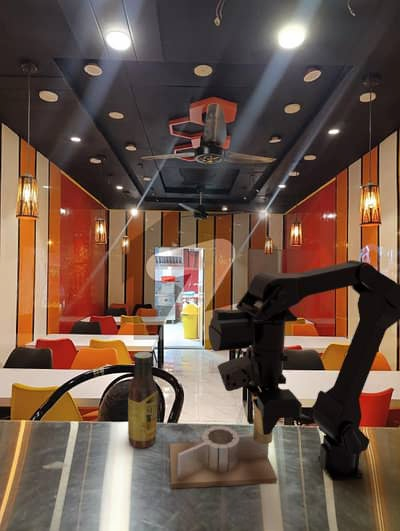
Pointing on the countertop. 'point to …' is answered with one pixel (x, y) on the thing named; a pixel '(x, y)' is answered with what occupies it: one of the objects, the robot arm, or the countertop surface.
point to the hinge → (219, 452)
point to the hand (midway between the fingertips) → (263, 427)
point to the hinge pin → (259, 425)
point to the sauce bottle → (142, 403)
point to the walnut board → (241, 475)
